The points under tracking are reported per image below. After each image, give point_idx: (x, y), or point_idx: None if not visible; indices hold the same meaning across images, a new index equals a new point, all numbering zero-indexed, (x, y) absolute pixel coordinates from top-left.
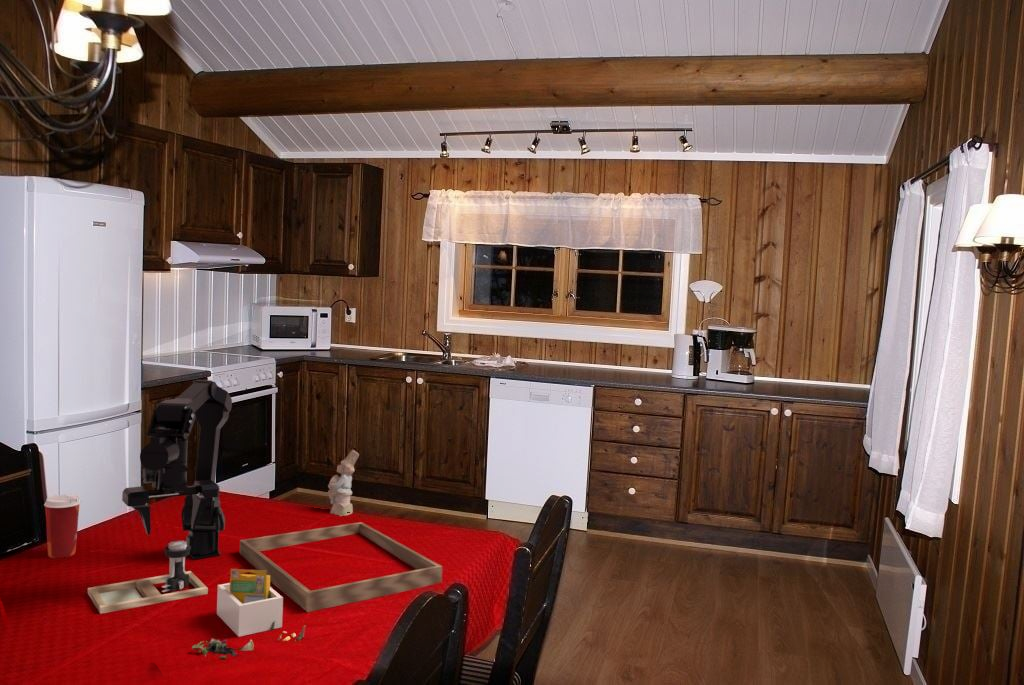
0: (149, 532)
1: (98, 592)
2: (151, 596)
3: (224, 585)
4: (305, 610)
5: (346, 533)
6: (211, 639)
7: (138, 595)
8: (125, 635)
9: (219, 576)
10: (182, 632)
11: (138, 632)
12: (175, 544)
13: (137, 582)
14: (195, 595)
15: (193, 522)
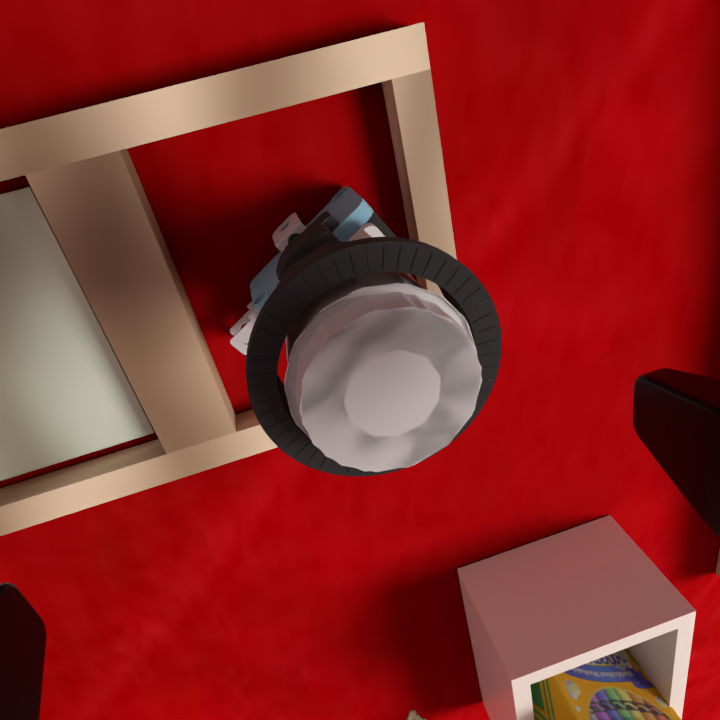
0: (31, 688)
1: None
2: (184, 449)
3: (536, 680)
4: (717, 564)
5: None
6: (409, 717)
7: (94, 339)
8: (130, 701)
9: (578, 98)
10: (328, 681)
11: (175, 683)
12: (367, 430)
13: (41, 190)
14: None
15: (715, 520)
